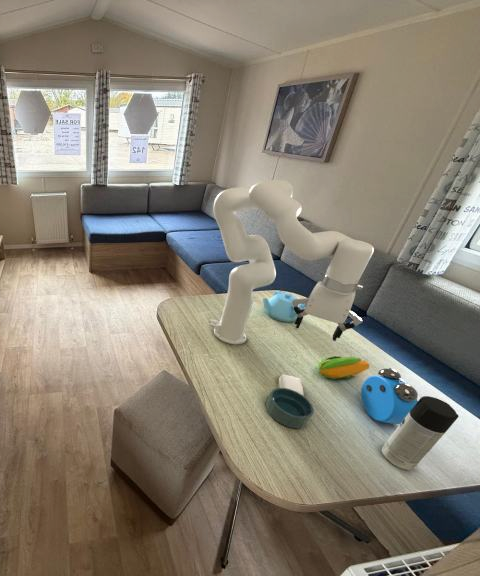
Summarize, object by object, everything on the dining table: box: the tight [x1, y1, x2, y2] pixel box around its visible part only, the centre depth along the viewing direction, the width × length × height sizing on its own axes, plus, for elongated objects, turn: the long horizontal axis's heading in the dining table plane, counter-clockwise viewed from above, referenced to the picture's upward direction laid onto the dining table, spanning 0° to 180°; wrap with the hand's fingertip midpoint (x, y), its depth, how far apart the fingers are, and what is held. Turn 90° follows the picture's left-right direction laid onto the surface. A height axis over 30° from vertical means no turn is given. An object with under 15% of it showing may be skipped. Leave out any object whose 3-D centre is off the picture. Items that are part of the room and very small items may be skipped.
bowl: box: [265, 387, 315, 429], centre depth 92 cm, size 11×11×5 cm
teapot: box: [262, 290, 306, 323], centre depth 140 cm, size 15×17×11 cm
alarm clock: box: [360, 367, 419, 426], centre depth 90 cm, size 13×6×15 cm, turn 171°
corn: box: [317, 356, 370, 380], centre depth 107 cm, size 7×8×20 cm
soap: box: [278, 374, 305, 397], centre depth 101 cm, size 9×7×3 cm
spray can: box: [381, 395, 459, 471], centre depth 77 cm, size 7×7×20 cm
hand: (315, 332), depth 95 cm, fingers open, 9 cm apart
